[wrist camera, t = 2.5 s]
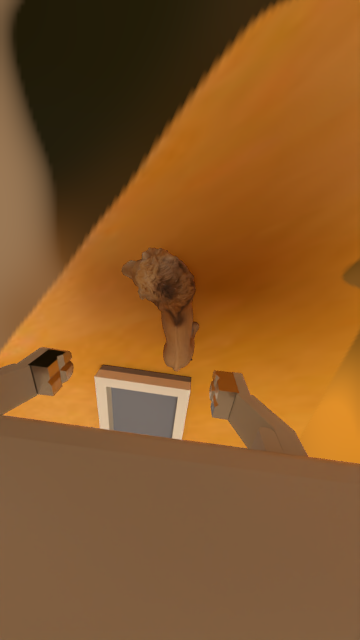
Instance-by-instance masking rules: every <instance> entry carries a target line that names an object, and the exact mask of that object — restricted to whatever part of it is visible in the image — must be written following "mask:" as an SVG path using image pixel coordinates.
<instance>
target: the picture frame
mask: <svg viewBox="0 0 360 640" xmlns="http://www.w3.org/2000/svg"><path fill="white" fill-rule="evenodd" d="M94 377H95V387H96V396H97V405H98V414H99V423H100V429H107V430H115V431H122V432H129V433H137V434H144V435H151V436H159V437H166V438H173V439H180V440H182V435H183V429H184V424H185V418H186V413H187V407H188V401H189V396H190V389H191V377H185V376H178V375H171V374H164V373H157V372H150V371H143V370H136V369H129V368H122V367H115V366H108V365H102V367H101V368H100V370H99V371H98V372H97V374H96V375H95V376H94Z"/></svg>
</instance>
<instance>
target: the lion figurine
mask: <svg viewBox="0 0 360 640" xmlns="http://www.w3.org/2000/svg"><path fill="white" fill-rule="evenodd" d="M122 273H123V274H124V275H125V276H127V277H129V278H131V279H132V280H133V282H134V284H135V285H136V286H138V287H139V290H138V293H139V295H140V298H141V300H143V299H145V298H146V299H147V300H149V301H151V302H153V303H154V304H155V305H156V306H157V307H158V309H159V310H161V314H162V324H163V329H164V332H165V336H166V340H167V343H166V344H165V346H164V351H163V357H164V361H165V363H166V365H167V366H168V367H172V368H173V370H174V371H179V370H180V368H183V367H185V366H186V365H187V364H188V363H189V362H190V360H192V355H193V352H194V337H195V333H196V332H197V330H198V328H199V324H198V323H196V322H193V309H192V304H191V303H192V300H193V296H194V294H195V290H196V289H195V282H194V281H193V280H194V276H193V275H192V274H191V273H190V272H189V270H188V268H187V266H186V265H185V264H184V263H183V262H182V261H180V260H179V259H178V257H176V256H173V255H171V254H170V253H168V251H167V250H164V249H162V248H160V249H156V248H149V249H148V250H147V251H145V252H143V253H142V260H138V261H132V260H131V261H129V262H127V263H126V264H125V265H123V267H122Z"/></svg>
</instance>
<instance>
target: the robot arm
mask: <svg viewBox="0 0 360 640" xmlns="http://www.w3.org/2000/svg"><path fill="white" fill-rule="evenodd" d="M71 358H72V354H71V352H70V351H66V350H59V349H53V348H52V349H51V348H45V347H42V348H39V349H38V350H36V351H35V352H33V353H32V354H30V355H29V356H27V357H26V358H25V359H23V360H22V361H20V362H19V363H17V364H11V365H8V366H4V367H1V368H0V640H360V464H357V463H349V462H343V461H335V460H328V459H321V458H313V457H308V455H307V453H306V452H305V450H304V448H303V446H302V444H301V442H300V440H299V439H298V437H297V435H296V433H295V431H294V430H293V429H292V428H290V427H289V426H288V425H287V424H286V423H285V422H283V421H282V420H281V419H280V418H279V417H278V416H276V415H275V414H274V413H273V412H272V411H271V410H269V409H268V408H267V407H266V406H265V405H264V404H263V403H261V402H260V401H259V400H258V399H257V398H256V397H254V396H253V395H250V393H249V390H248V388H247V385H246V382H245V380H244V377H243V375H242V374H241V373H235V372H224V371H216V370H214V372H213V381H212V382H211V385H210V400H211V401H212V403H211V412H212V417H214V418H220V419H226V420H228V421H229V422H230V424H231V425H232V427H233V428H234V429H235V431H236V432H237V434H238V435H239V436H240V438H241V439H242V441H243V442H244V443H245V445H246V446H247V448H248V449H247V448H240V447H232V446H225V445H218V444H210V443H203V442H195V441H188V440H180V439H173V438H166V437H159V436H151V435H144V434H137V433H129V432H122V431H115V430H107V429H100V428H93V427H85V426H78V425H70V424H63V423H56V422H48V421H41V420H34V419H26V418H19V417H11V416H4V415H3V414H5V413H6V412H8V411H10V410H12V409H13V408H15V407H17V406H19V405H21V404H22V403H24V402H26V401H28V400H29V399H31V398H33V397H35V396H36V395H37V394H40V395H50V396H54V395H55V394H56V393H57V392H58V391H59V390H60V388H61V387H62V383H64V382H66V381H68V379H69V378H70V377H71V375H72V373H73V363H72V362H71V361H70V360H71Z"/></svg>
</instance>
